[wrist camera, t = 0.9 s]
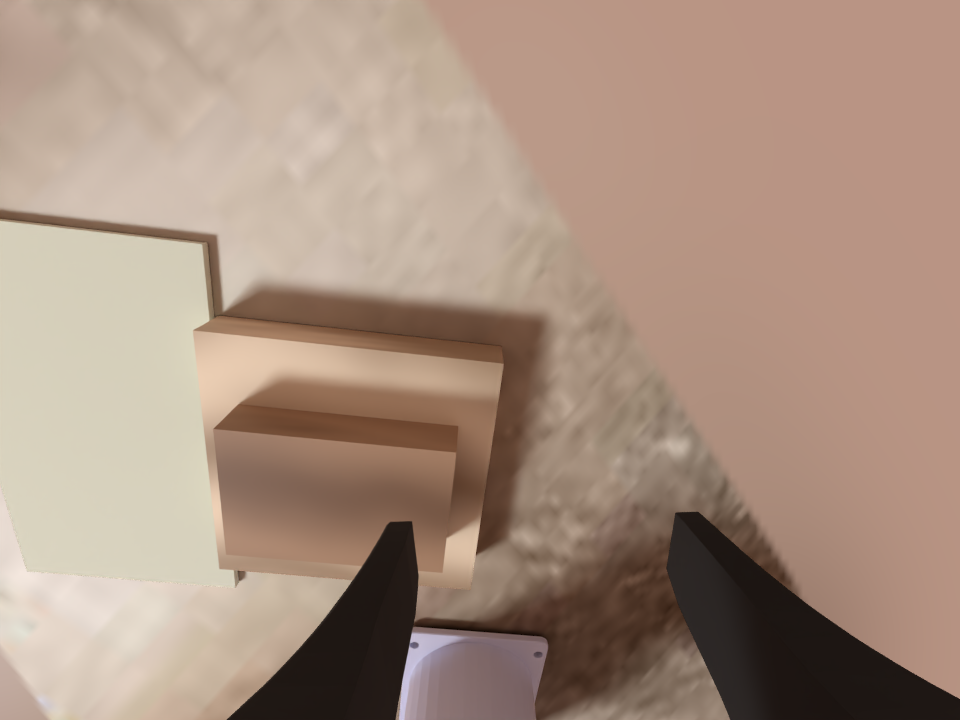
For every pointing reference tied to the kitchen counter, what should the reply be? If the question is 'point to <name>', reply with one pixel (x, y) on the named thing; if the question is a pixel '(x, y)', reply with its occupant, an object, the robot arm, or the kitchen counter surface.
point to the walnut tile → (331, 484)
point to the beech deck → (356, 409)
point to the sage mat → (105, 404)
